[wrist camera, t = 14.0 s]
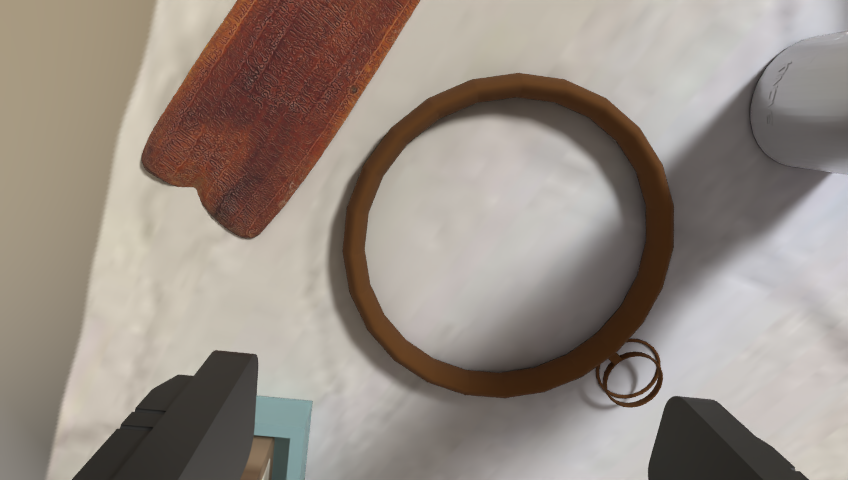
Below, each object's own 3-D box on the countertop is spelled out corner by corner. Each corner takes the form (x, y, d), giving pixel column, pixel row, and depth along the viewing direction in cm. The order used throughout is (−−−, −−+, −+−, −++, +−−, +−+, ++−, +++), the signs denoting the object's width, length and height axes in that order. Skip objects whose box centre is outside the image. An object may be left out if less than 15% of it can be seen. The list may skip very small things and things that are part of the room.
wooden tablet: (258, 244, 38) (252, 250, 36) (138, 163, 36) (125, 165, 34) (481, -68, 33) (486, -77, 32) (358, -180, 31) (355, -196, 30)
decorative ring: (549, 501, 41) (267, 257, 35) (539, 476, 44) (276, 246, 37) (791, 299, 38) (527, -14, 31) (763, 285, 41) (516, -4, 34)
